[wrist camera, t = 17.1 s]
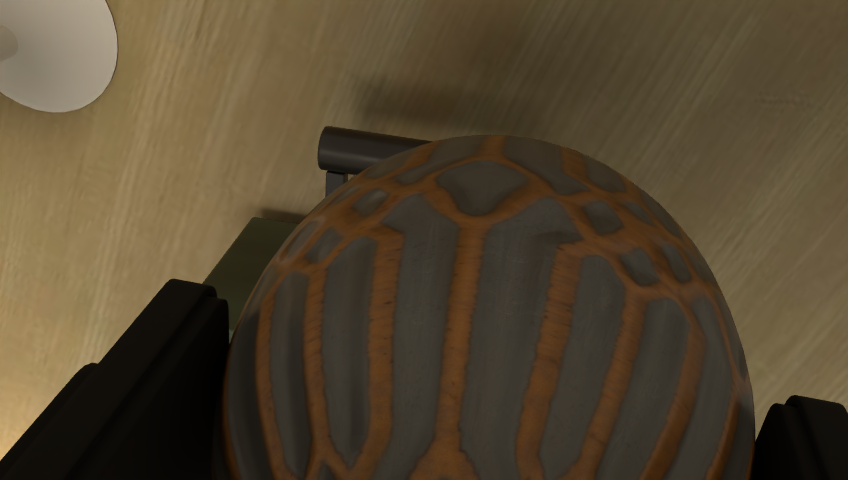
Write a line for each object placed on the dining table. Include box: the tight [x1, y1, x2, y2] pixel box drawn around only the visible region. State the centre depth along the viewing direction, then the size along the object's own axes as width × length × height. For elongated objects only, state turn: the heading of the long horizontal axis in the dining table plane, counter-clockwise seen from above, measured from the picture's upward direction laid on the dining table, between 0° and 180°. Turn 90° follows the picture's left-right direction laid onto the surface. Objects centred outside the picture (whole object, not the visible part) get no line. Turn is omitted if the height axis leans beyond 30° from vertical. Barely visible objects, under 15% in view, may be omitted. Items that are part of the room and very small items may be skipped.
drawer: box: [202, 126, 432, 344], centre depth 31 cm, size 22×14×7 cm, turn 174°
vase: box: [212, 135, 755, 480], centre depth 10 cm, size 7×7×9 cm
